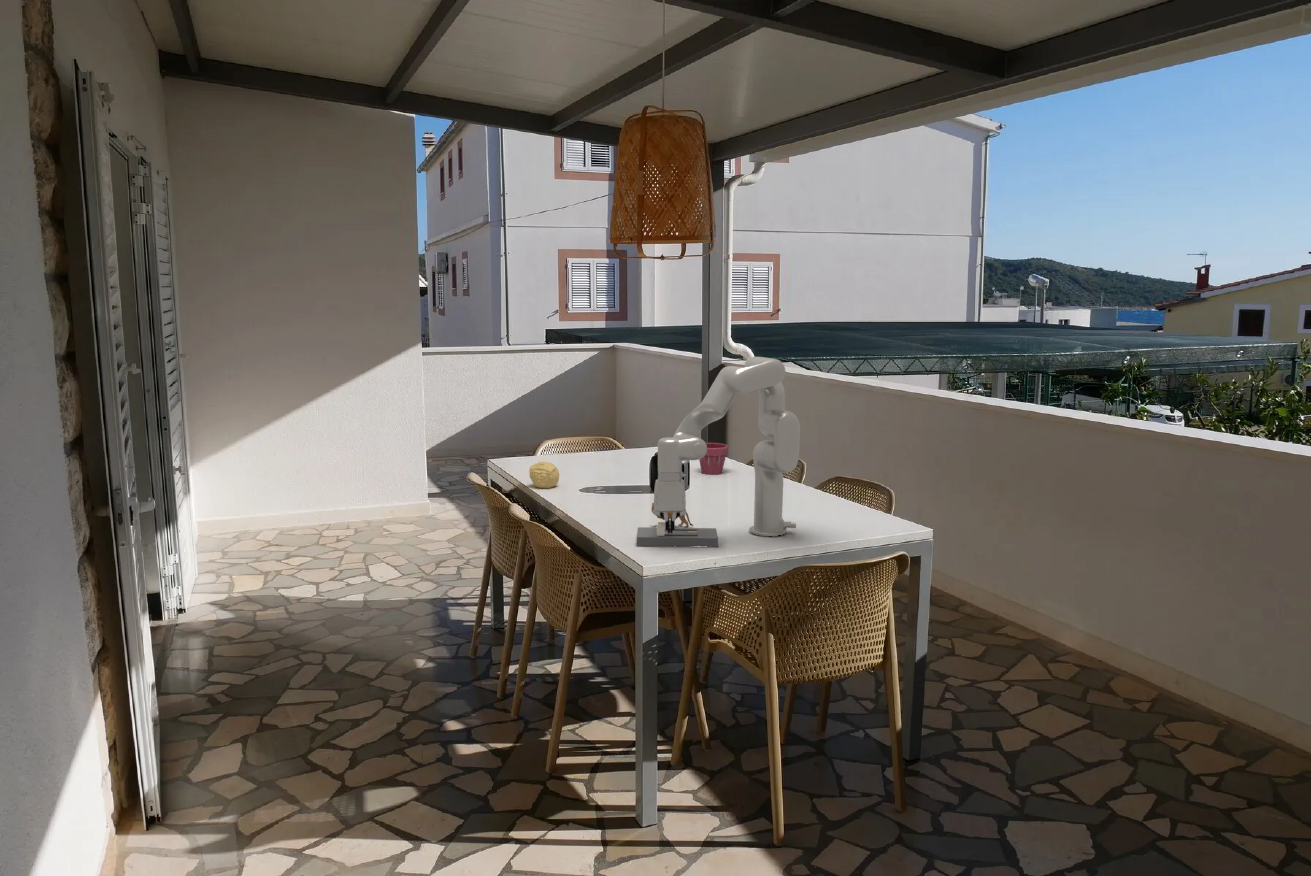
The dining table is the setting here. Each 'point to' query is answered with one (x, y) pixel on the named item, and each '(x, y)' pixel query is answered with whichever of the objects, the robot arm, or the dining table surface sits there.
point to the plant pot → (714, 459)
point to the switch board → (677, 537)
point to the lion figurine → (682, 517)
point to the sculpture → (544, 475)
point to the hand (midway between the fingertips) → (670, 532)
